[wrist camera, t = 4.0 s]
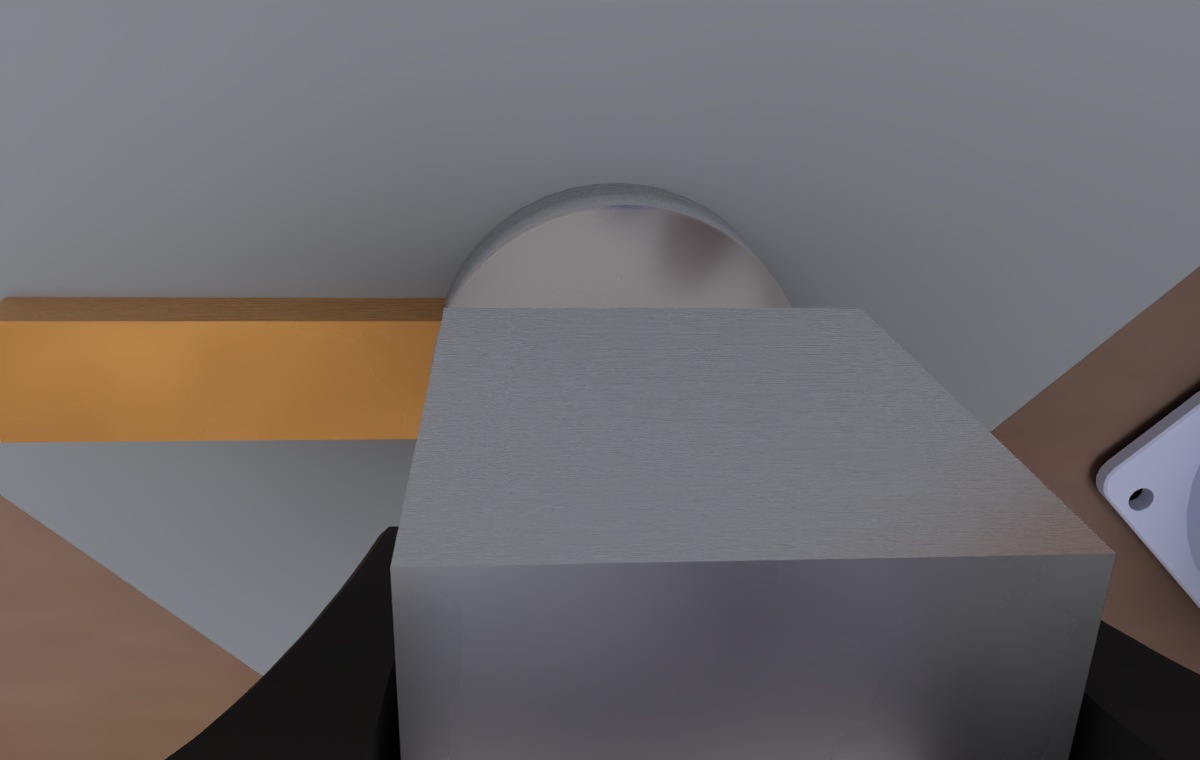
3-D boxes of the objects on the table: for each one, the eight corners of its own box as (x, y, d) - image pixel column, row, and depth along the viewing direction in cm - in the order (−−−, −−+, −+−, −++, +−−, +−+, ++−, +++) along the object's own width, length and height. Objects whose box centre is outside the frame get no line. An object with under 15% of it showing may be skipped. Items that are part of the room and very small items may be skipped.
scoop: (51, 512, 20) (-100, 705, 15) (-19, 175, 17) (-230, 274, 12) (766, 503, 21) (842, 679, 16) (799, 184, 18) (903, 278, 13)
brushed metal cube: (860, 307, 13) (1115, 553, 8) (819, 653, 15) (999, 1054, 9) (444, 307, 13) (391, 566, 7) (455, 662, 15) (418, 1088, 9)
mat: (1323, 146, 19) (1343, 152, 19) (486, 813, 24) (486, 830, 24) (625, -973, 13) (628, -1006, 12) (-320, 249, 18) (-342, 258, 17)
